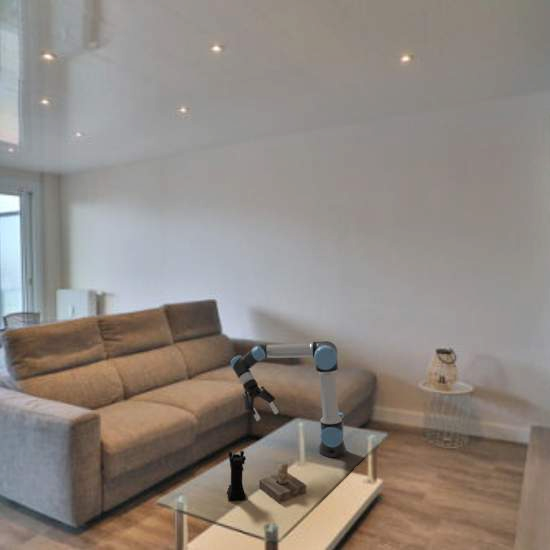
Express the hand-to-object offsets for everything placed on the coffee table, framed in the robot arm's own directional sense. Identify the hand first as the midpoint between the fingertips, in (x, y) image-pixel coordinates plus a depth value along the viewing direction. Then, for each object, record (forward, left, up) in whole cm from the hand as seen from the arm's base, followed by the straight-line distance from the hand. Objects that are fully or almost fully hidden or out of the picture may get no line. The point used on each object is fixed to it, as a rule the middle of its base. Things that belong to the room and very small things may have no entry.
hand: (268, 416), depth 250 cm
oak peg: (+7, +23, -27) cm, 37 cm away
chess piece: (+28, +15, -28) cm, 42 cm away
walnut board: (+7, +23, -27) cm, 37 cm away
